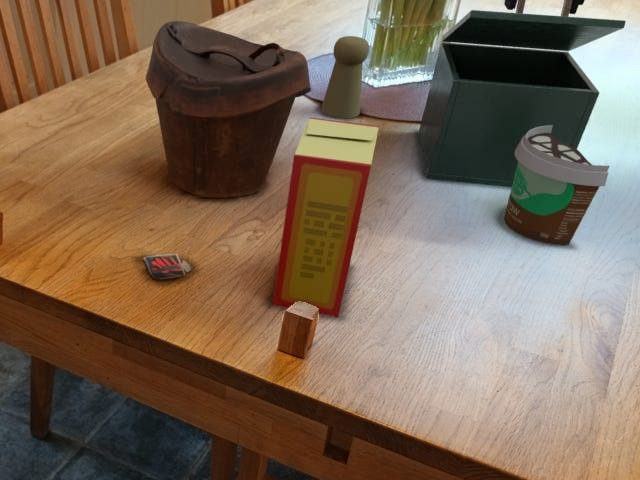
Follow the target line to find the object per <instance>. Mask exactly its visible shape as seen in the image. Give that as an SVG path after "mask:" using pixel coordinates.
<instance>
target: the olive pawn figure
mask: <svg viewBox="0 0 640 480" xmlns="http://www.w3.org/2000/svg"><path fill="white" fill-rule="evenodd" d="M332 52H333V57H334V64H333V66H332V67H333V68H332V70H331V74H330V77H329V81H328V84H327V87H326V91H325V95H324V97H323V101H322V104H321V107H320V110H321V111H320V112H322V113H323V114H325V115H326V116H328V117H332V118H338V119H352V118H356V117H358V116H359V115H360V113H361V111H360V110H361V99H362V98H361V96H362V84H363V83H362V82H363V66H364V62H365V61H366V60H367V58H368V56H369V53H370V45H369V42H368V40H366V39H365V38H363V37H360V36H355V35H345V36H341V37H340V38H338V39H337V40H336V41H335V43H334V45H333V51H332Z"/></svg>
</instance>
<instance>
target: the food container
mask: <svg viewBox="0 0 640 480" xmlns="http://www.w3.org/2000/svg"><path fill="white" fill-rule="evenodd" d="M552 127H553V125H548V126H540V127H536V128H533V129H531V130H530V131H528V132H527V134H526V135H525V136H524V137H523V138H522V139H521V141H520V143H519V144H518V146H517V148H516V149H515V153H514V154H515V157H516V159H517V160H518V165H517V169H516V173H515V176H514V180H513V184H512V187H510V192H509V196H508V200H507V204H506V208H505V212H504V216H503V222H504V224H505V225H506V227H508V228H509V229H510V230H511V231H513V232H514V233H516V234H517V235H519V236H522V237H523V238H526V239H528V240H532V241H534V242H535V241H536V242H539V243H543V244H547V245H548V244H549V245H555V246H556V245H558V246H569V245H570V243H571V242H572V239H573V238H574V236H575V234H576V232H577V231H578V228H579V227H580V225H581V222H582V221H583V218H584V217H585V215H586V213H587V211H588V209H589V208H590V205H591V204H592V201H593V200H594V198H595V197H596V194H597V192H598V190H599V188H600V187H605V186H606V183H607V180H608V176H609V172H608V171H609V169H610V165H599V164H598V165H597V164H592V163H591V162H590V161H589V160H588V159H587V158H586V157H585V156H584V155H583V154H582V153H581V151H580V150H579V149H578V148H577V149H576V148H574V147H572V146H569V145H567V144H565V143H563V142H561V141H559V140H558V139H557V138H555V137H554V136H553V135H551V130H552Z"/></svg>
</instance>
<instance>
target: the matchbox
mask: <svg viewBox="0 0 640 480" xmlns="http://www.w3.org/2000/svg"><path fill="white" fill-rule="evenodd" d="M140 260H142V258H140ZM143 260H144V263H145V264H146V266H147V268H148V269H147V272H149V274H150V275H151V276H152V277H153V278H154V280H164V279H174V278H179V277H183V276H185V275H186V273H189V272H191V271H192V265H191V264H189V263H188V262H187V261H186V260H185V259H182V260H181V259H180V258H179V254H178V253H165V254H159V253H156V255H155V254H154V255H150V256H149V255H147V256H144V257H143Z"/></svg>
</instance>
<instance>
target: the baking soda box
mask: <svg viewBox="0 0 640 480" xmlns="http://www.w3.org/2000/svg"><path fill="white" fill-rule="evenodd" d="M379 130H380V126H379V125H374V124H373V125H372V124H367V123H366V124H365V123H358V122H352V121H351V122H350V121H341V120H336V119H335V120H333V119H327V118H319V117H308V121H307V123H306V125H305V128H304V130H303V133H302V135H301V137H300V140H299V142H298V145H297V146H296V150H295V152H294V154H293V160H292V166H291V173H290V180H289V181H290V182H289V187H288V188H289V189H288V194H287V201H286V208H285V215H284V223H283V224H284V225H283V230H282V235H281V236H282V237H281V244H280V251H279V258H278V264H277V273H276V278H275V285H274V292H273V300H272V305H273V306H280V307H283V308H289V307H290V306H291V305H293V304H294V303H295V302H298V301H301V302H306V303H308V304H311V305H313V306H316V307H317V308H319V313H318V314H321V315H326V316H327V315H328V316H333V317H338V318H339V316H340V312H341V306H342V302H343V298H344V293H345V288H346V283H347V278H348V274H349V269H350V266H351V261H352V256H353V251H354V247H355V243H356V238H357V233H358V228H359V224H360V219H361V215H362V210H363V205H364V201H365V196H366V191H367V186H368V182H369V177H370V173H371V168H372V163H373V158H374V153H375V149H376V144H377V139H378V133H379Z"/></svg>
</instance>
